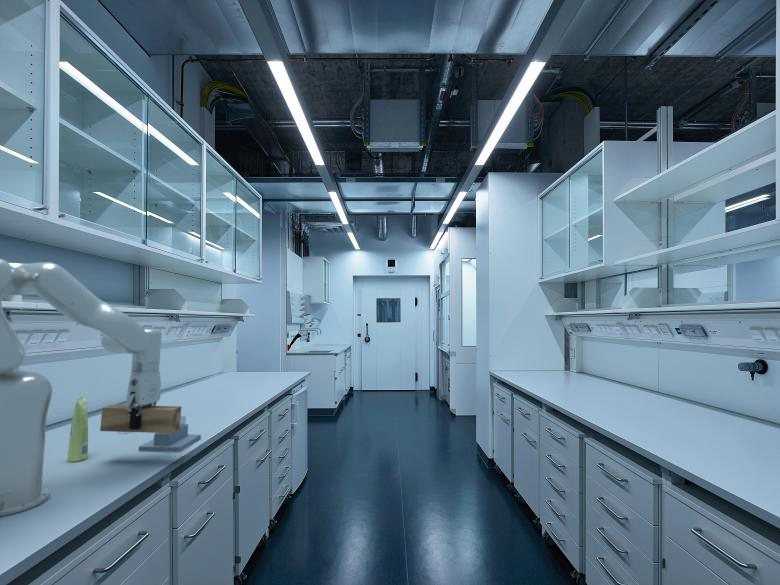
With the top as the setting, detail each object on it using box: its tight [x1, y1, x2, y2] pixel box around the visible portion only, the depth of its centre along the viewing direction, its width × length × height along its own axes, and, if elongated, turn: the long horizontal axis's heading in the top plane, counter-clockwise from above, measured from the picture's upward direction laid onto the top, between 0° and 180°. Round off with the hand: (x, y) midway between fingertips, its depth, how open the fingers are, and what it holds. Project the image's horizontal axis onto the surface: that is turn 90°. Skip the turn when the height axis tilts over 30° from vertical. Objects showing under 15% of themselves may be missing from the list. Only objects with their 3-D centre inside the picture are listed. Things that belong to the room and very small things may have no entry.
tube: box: [67, 395, 89, 463], centre depth 122 cm, size 6×5×20 cm
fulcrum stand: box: [138, 415, 202, 453], centre depth 136 cm, size 14×14×8 cm
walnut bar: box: [99, 404, 182, 434], centre depth 120 cm, size 5×22×7 cm, turn 89°
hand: (141, 425), depth 120 cm, fingers closed on walnut bar, 4 cm apart
